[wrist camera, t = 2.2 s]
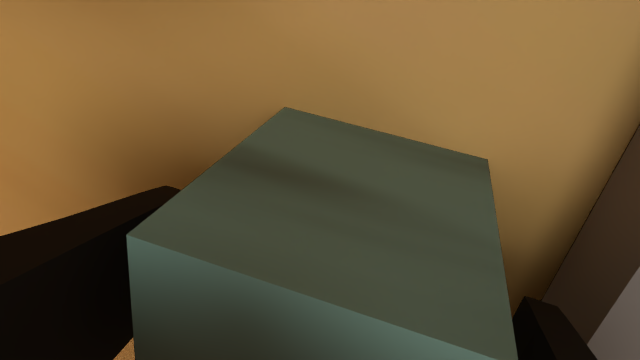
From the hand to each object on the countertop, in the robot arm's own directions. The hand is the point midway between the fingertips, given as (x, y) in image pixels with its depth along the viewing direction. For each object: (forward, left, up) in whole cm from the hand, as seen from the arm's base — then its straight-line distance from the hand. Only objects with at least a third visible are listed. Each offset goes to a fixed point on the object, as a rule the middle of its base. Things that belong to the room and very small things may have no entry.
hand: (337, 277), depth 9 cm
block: (0, 0, -3) cm, 3 cm away
